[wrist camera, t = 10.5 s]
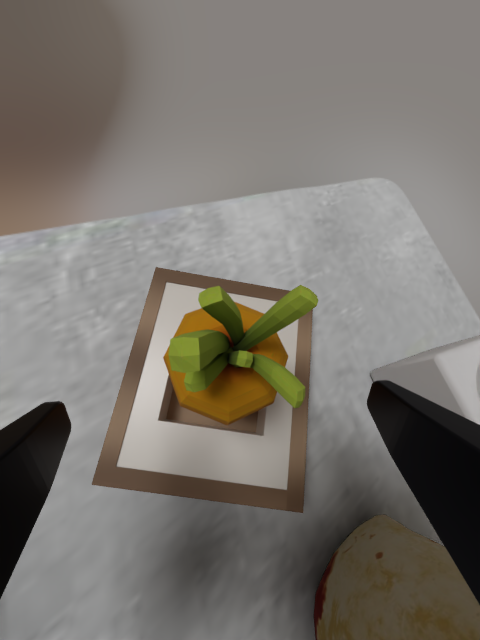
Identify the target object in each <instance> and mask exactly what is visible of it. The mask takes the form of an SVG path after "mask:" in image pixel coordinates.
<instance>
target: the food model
mask: <svg viewBox="0 0 480 640" xmlns="http://www.w3.org/2000/svg"><path fill="white" fill-rule="evenodd" d="M314 625H315V637H316V640H480V605H479V603H478V602H477V600H476V598H475V597H474V595H473V593H472V592H471V590H470V588H469V586H468V585H467V583H466V581H465V580H464V578H463V576H462V575H461V573H460V571H459V570H458V568H457V566H456V565H455V563H454V561H453V560H452V558H451V556H450V555H449V553H448V551H447V550H446V548H445V547H444V546H442V545H440V544H438V543H436V542H434V541H432V540H430V539H428V538H426V537H424V536H422V535H419V534H417V533H415V532H413V531H411V530H409V529H407V528H406V527H404V526H403V525H402V524H400V523H399V522H397V521H395V520H394V519H392V518H390V517H388V516H387V515H377V516H375V517H373V518H371V519H370V520H368V521H366V522H364V523H363V524H361V525H360V526H358V527H357V528H356V529H355V530H354V531H353V532H352V533H351V534H350V535H349V536H348V537H347V538H346V539H345V541H344V542H343V543H342V544H341V545H340V547H339V548H338V549H337V550H336V551H335V553H334V554H333V556H332V558H331V560H330V562H329V564H328V566H327V568H326V570H325V572H324V574H323V577H322V579H321V582H320V584H319V587H318V589H317V592H316V596H315V606H314Z"/></svg>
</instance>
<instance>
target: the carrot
mask: <svg viewBox="0 0 480 640" xmlns="http://www.w3.org/2000/svg"><path fill="white" fill-rule="evenodd" d="M198 301H199V303H200V306H201V309H198V310H195V311H192V312H189V313H187V314H185V315H184V317H183V319H182V321H181V323H180V325H179V327H178V329H177V331H176V333H175V335H174V337H173V338H172V339H170V345H169V347H168V349H167V351H166V353H165V355H164V357H163V359H164V362H165V365H166V367H167V370H168V373H169V376H170V379H171V382H172V384H173V387H174V390H175V393H176V396H177V399H178V401H179V404H180V406H181V407H183V408H186V409H188V410H191V411H193V412H195V413H198V414H200V415H203V416H205V417H208V418H210V419H212V420H215V421H217V422H220V423H222V424H224V425H229V424H232V423H234V422H236V421H238V420H240V419H242V418H244V417H246V416H248V415H250V414H252V413H254V412H256V411H259V410H261V409H263V408H265V407H267V406H269V405H271V404H273V403H274V400H275V397H276V394H277V392H278V393H279V394H280V395H281V396H282V397H283V398H284V399H285V400H286V401H287V402H288V403H289V404H290V405H291V406H293V407H294V408H299V407H300V406H301V404H302V403H303V400H304V398H305V386H304V385H303V384H302V383H301V382H300V381H299V380H298V379H297V377H295V376H294V375H293V374H292V373H291V372H290V371H289V370H287V369H286V368H285V366H286V363H287V360H288V354H287V352H286V350H285V348H284V346H283V344H282V342H281V340H280V338H279V336H278V334H277V332H278V331H280V330H281V329H283V328H285V327H286V326H288V325H290V324H291V323H293V322H294V321H296V320H298V319H299V318H301V317H302V316H304V315H305V314H307V313H308V312H309V311H311V310H312V309H313V308H314V307H316V306H317V303H318V298H317V296H316V295H315V294H314V293H313V292H312V291H311V290H310V289H308V288H306V287H304V286H302V285H300V286H298V287H297V288H295V289H293V290H292V291H290V292H289V293H288V294H286V295H285V296H284V297H283V298H281V299H280V300H279V301H278V302H277V303H276V304H274V305H273V306H272V307H271V308H270V309H269V310H268V311H267V312H266V313H265V314H264V313H261V312H259V311H256V310H254V309H251V308H249V307H246V306H244V305H242V304H239V303H237V302H234V301H233V300H232V299H231V297H230V296H229V294H227V293H226V292H225V291H224V290H223V289H222V288H221V287H220V286H216V287H211V288H207V289H206V290H204V291H202V292H201V293H199V298H198Z"/></svg>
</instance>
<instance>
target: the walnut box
mask: <svg viewBox="0 0 480 640" xmlns="http://www.w3.org/2000/svg"><path fill="white" fill-rule="evenodd" d="M166 282H169V283H175V284H180V285H186V286H192V287H198V288H203V289H207V288H211V287H216V286H220V287H221V288H222V289H223V290H224V291H225V292H226V293H232V294H238V295H243V296H249V297H255V298H261V299H266V300H272V301H279V300H280V299H281V298H283V297H284V296H285V295H286V294H288V293H289V292H290V291H288V290H282V289H276V288H271V287H265V286H259V285H254V284H248V283H242V282H237V281H231V280H225V279H220V278H214V277H208V276H203V275H197V274H191V273H186V272H180V271H174V270H169V269H163V268H157V267H156V269H155V272H154V275H153V279H152V282H151V286H150V289H149V292H148V296H147V299H146V303H145V306H144V309H143V313H142V316H141V319H140V323H139V326H138V330H137V333H136V336H135V340H134V343H133V346H132V350H131V353H130V357H129V360H128V363H127V367H126V370H125V373H124V377H123V380H122V384H121V387H120V390H119V394H118V397H117V401H116V404H115V407H114V411H113V414H112V417H111V421H110V424H109V428H108V431H107V434H106V438H105V441H104V444H103V448H102V451H101V455H100V458H99V461H98V465H97V468H96V471H95V475H94V478H93V482H92V485H98V486H106V487H113V488H121V489H128V490H136V491H143V492H151V493H158V494H166V495H173V496H180V497H188V498H195V499H203V500H210V501H218V502H225V503H233V504H240V505H248V506H255V507H263V508H270V509H277V510H285V511H292V512H300V513H303V506H304V485H305V463H306V441H307V420H308V398H309V376H310V355H311V333H312V311H313V309H312V310H311V311H309V312H308V313H307V314H305V315H304V316H302V317H301V318H299V319H298V332H297V347H296V362H295V377H297V379H298V380H299V381H300V382H301V383H302V384H303V385H304V386H305V398H304V400H303V403H302V404H301V406H300V407H299V408H294V407H293V408H292V423H291V438H290V453H289V468H288V483H287V490H284V489H276V488H269V487H262V486H255V485H247V484H240V483H233V482H226V481H219V480H211V479H204V478H197V477H190V476H182V475H175V474H168V473H161V472H153V471H146V470H139V469H132V468H124V467H117V466H116V465H117V461H118V458H119V454H120V450H121V447H122V443H123V439H124V436H125V432H126V428H127V425H128V421H129V417H130V414H131V410H132V406H133V403H134V399H135V395H136V392H137V388H138V384H139V381H140V377H141V373H142V370H143V366H144V362H145V359H146V355H147V351H148V348H149V344H150V340H151V337H152V333H153V329H154V326H155V322H156V318H157V315H158V311H159V307H160V304H161V300H162V296H163V293H164V289H165V285H166ZM166 419H169V420H176V421H182V422H189V423H196V424H203V425H209V426H216V427H223V428H230V429H236V430H243V431H250V432H256V428H257V419H258V411H256V412H254V413H252V414H250V415H248V416H246V417H244V418H242V419H240V420H238V421H236V422H234V423H232V424H229V425H224V424H222V423H220V422H217V421H215V420H212V419H210V418H208V417H205V416H203V415H200V414H198V413H195V412H193V411H191V410H188V409H186V408H183V407H181V406H180V404H179V401H178V399H177V396H176V393H175V390H174V387H173V390H172V395H171V399H170V404H169V408H168V412H167V417H166Z"/></svg>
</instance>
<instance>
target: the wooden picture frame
mask: <svg viewBox="0 0 480 640" xmlns="http://www.w3.org/2000/svg"><path fill="white" fill-rule="evenodd" d="M204 290H206V289H203V288H198V287H192V286H186V285H180V284H175V283H169V282H166V285H165V289H164V293H163V296H162V300H161V304H160V307H159V311H158V315H157V318H156V322H155V326H154V329H153V333H152V337H151V340H150V344H149V348H148V351H147V355H146V359H145V362H144V366H143V370H142V373H141V377H140V381H139V384H138V388H137V392H136V395H135V399H134V403H133V406H132V410H131V414H130V417H129V421H128V425H127V428H126V432H125V436H124V439H123V443H122V447H121V450H120V454H119V458H118V461H117V465H116V466H117V467H124V468H132V469H139V470H146V471H153V472H161V473H168V474H175V475H182V476H190V477H197V478H204V479H211V480H219V481H226V482H233V483H240V484H247V485H255V486H262V487H269V488H276V489H284V490H287V483H288V468H289V453H290V438H291V423H292V408H293V406H291V405H290V404H289V403H288V402H287V401H286V400H285V399H284V398H283V397H282V396H281V395H280V394H279V393H278V392H277V394H276V397H275V400H274V403H273V404H271V405H269V406H267V407H265V408H263V409H261V410H259V411H258V419H257V428H256V432H250V431H243V430H236V429H230V428H223V427H216V426H209V425H203V424H196V423H189V422H182V421H176V420H169V419H166V417H167V412H168V408H169V404H170V399H171V395H172V390H173V384H172V382H171V379H170V376H169V373H168V370H167V367H166V365H165V362H164V359H163V357H164V355H165V353H166V351H167V349H168V347H169V345H170V339H172V338H173V337H174V335H175V333H176V331H177V329H178V327H179V325H180V323H181V321H182V319H183V317H184V315H185V314H187V313H189V312H192V311H195V310H198V309H201V306H200V303H199V301H198V298H199V293H201V292H202V291H204ZM227 294H229V296H230V297H231V299H232V300H233V301H234V302H237V303H239V304H242V305H244V306H246V307H249V308H251V309H254V310H256V311H259V312H261V313H264V314H265V313H266V312H267V311H268V310H269V309H270V308H271V307H272V306H273V305H274V304H276V303H277V302H278V301H272V300H266V299H261V298H255V297H249V296H243V295H238V294H232V293H227ZM297 332H298V320H296V321H294V322H293V323H291V324H290V325H288V326H286V327H285V328H283V329H281V330H280V331H278V332H277V334H278V336H279V338H280V340H281V342H282V344H283V346H284V348H285V350H286V352H287V354H288V360H287V363H286V366H285V368H286V369H287V370H289V371H290V372H291V373H292V374H293V375H294V376H295V362H296V347H297Z"/></svg>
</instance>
